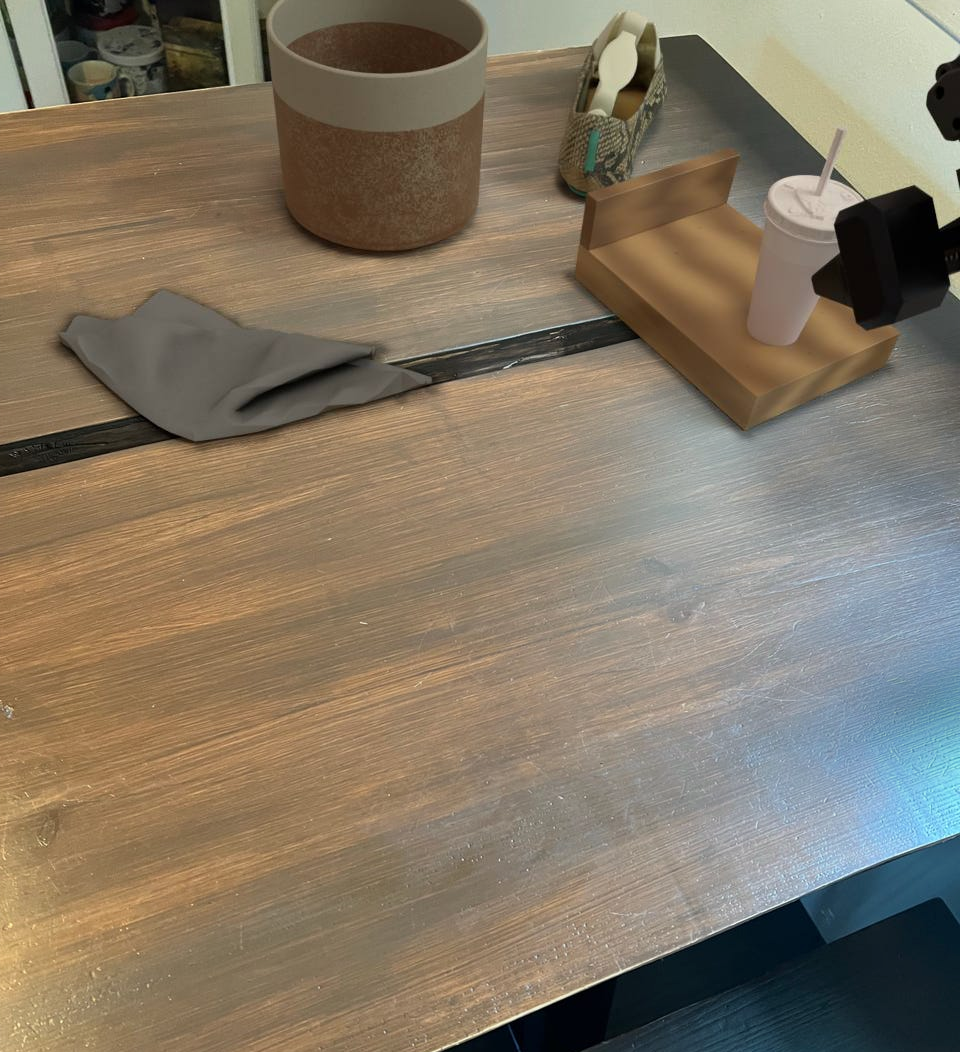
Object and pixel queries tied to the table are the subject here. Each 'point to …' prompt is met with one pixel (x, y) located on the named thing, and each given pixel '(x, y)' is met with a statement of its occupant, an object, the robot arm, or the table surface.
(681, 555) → the table surface
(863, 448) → the table surface
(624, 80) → the ballet flat
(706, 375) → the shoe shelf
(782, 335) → the smoothie
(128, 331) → the cloth
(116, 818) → the table surface
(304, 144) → the planter
